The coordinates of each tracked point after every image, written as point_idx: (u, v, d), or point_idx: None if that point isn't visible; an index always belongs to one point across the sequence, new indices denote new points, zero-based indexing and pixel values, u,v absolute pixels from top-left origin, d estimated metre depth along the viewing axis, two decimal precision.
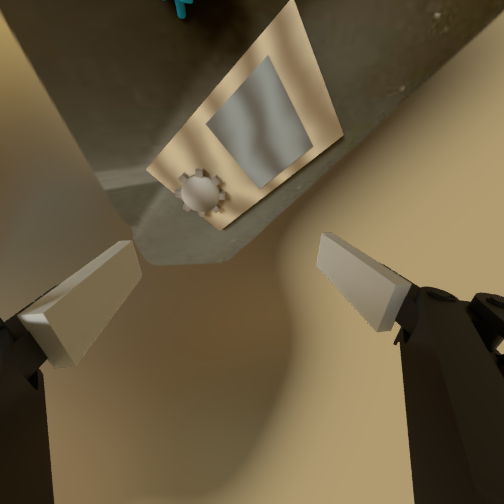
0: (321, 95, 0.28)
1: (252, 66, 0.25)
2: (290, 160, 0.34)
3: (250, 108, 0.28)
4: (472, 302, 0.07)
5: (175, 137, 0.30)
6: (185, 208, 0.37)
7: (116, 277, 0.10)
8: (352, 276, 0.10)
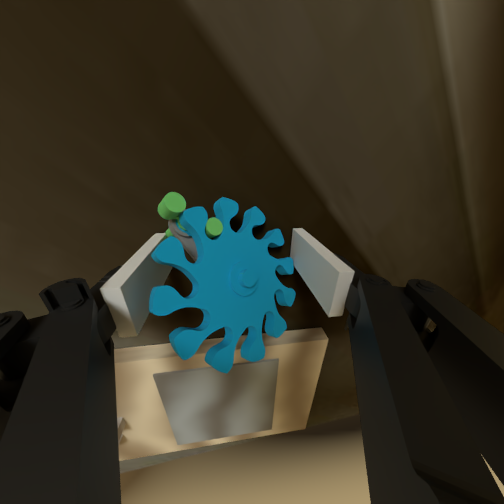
0: (305, 399, 0.23)
1: None
2: (238, 432, 0.24)
3: (226, 384, 0.19)
4: (406, 289, 0.08)
5: None
6: None
7: (157, 264, 0.11)
8: (313, 267, 0.11)
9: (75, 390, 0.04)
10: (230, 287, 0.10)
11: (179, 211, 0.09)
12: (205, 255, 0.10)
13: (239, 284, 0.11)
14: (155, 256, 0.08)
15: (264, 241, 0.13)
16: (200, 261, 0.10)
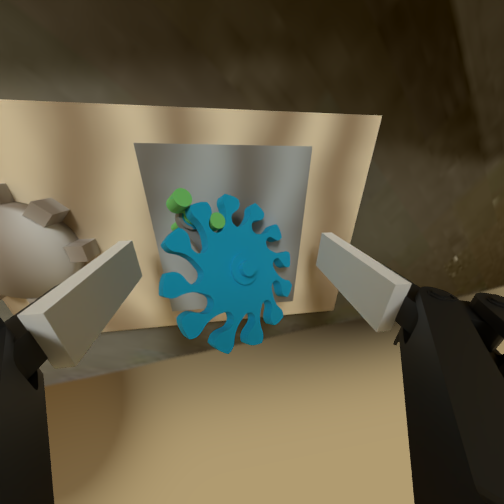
0: None
1: (280, 138, 0.13)
2: None
3: (239, 189, 0.14)
4: (472, 302, 0.07)
5: (32, 105, 0.11)
6: None
7: (116, 277, 0.10)
8: (352, 276, 0.10)
9: None
10: (231, 276, 0.11)
11: (186, 205, 0.10)
12: (209, 246, 0.11)
13: (240, 273, 0.12)
14: (165, 245, 0.09)
15: (263, 236, 0.14)
16: (204, 251, 0.11)
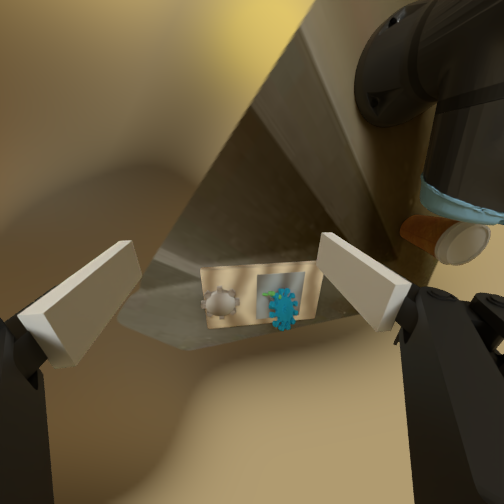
0: (315, 297, 0.50)
1: (296, 270, 0.45)
2: None
3: (283, 283, 0.46)
4: (472, 302, 0.07)
5: (235, 269, 0.43)
6: (202, 306, 0.44)
7: (116, 277, 0.10)
8: (352, 276, 0.10)
9: None
10: (283, 311, 0.44)
11: (274, 295, 0.42)
12: (278, 304, 0.43)
13: (285, 310, 0.44)
14: (271, 306, 0.42)
15: (290, 298, 0.46)
16: (277, 305, 0.43)
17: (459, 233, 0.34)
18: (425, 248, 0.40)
